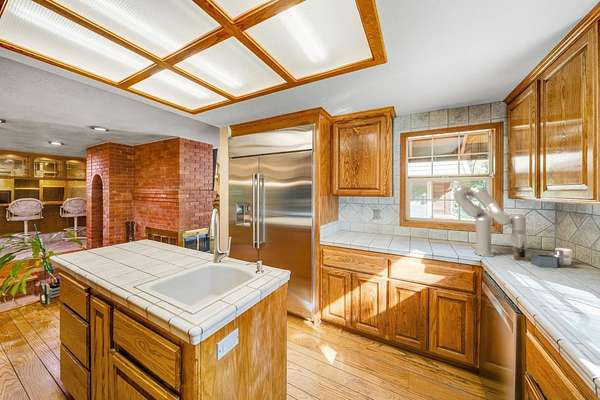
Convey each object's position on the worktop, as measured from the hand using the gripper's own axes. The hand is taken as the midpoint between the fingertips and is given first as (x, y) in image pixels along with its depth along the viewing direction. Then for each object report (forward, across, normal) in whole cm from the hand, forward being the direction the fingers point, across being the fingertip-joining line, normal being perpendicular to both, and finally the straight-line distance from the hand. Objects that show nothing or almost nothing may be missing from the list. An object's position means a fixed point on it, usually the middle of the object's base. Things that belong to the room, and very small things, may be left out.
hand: (518, 255), depth 167 cm
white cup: (+3, +5, +23) cm, 24 cm away
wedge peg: (+3, 0, 0) cm, 3 cm away
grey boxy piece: (+3, +13, +11) cm, 17 cm away
